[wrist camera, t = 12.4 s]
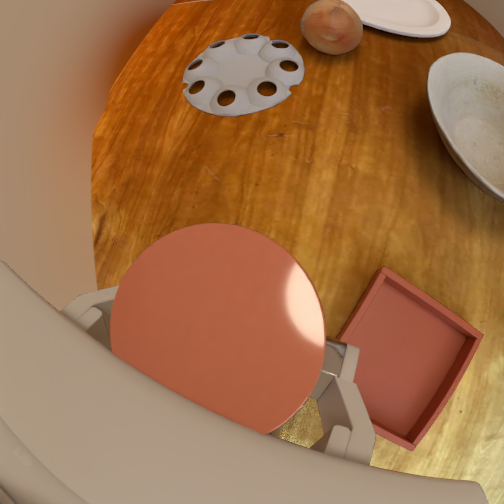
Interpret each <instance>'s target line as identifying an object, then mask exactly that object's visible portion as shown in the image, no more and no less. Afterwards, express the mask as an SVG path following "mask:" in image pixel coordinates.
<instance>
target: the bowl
mask: <svg viewBox="0 0 504 504" xmlns="http://www.w3.org/2000/svg"><path fill="white" fill-rule="evenodd" d="M426 89H427V97H428V103H429V107H430V110H431V114H432V117H433V120H434V122H435V125H436V127H437V130H438V132H439V135H440V137H441V139H442V142H443V144H444V146H445V148H446V149H447V151H448V152H449V154H450V156H451V157H452V158H453V159H454V161H455V163H456V164H457V165H458V166H459V167H460V168H461V169H462V170H463V172H464V173H465V174H466V175H467V177H468V178H469V179H470V180H471V181H472V182H473V183H474V184H475V185H476V186H477V187H478V188H480V189H481V190H482V191H483V192H485V193H487V194H489V195H490V196H492V197H493V198H495V199H497V200H499V201H501V202H503V203H504V66H502V65H500V64H498V63H496V62H494V61H492V60H490V59H488V58H485V57H482V56H479V55H475V54H471V53H464V52H460V53H452V54H448V55H445V56H443V57H441V58H439V59H437V60H436V61H435V62H434V63H433V64H432V65H431V66H430V69H429V72H428V76H427V88H426Z"/></svg>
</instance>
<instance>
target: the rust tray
mask: <svg viewBox="0 0 504 504" xmlns="http://www.w3.org/2000/svg"><path fill="white" fill-rule="evenodd" d="M483 335H484V334H482V333H481V332H480V331H478V330H477V329H476V328H474V327H473V326H472V325H470V324H469V323H467V322H466V321H465V320H463V319H462V318H460V317H459V316H458V315H456V314H455V313H453V312H452V311H451V310H449V309H448V308H446V307H445V306H444V305H442V304H441V303H439V302H438V301H436V300H435V299H434V298H432V297H431V296H429V295H428V294H426V293H425V292H423V291H422V290H420V289H419V288H417V287H416V286H414V285H413V284H411V283H410V282H408V281H407V280H405V279H404V278H402V277H401V276H399V275H398V274H396V273H395V272H393V271H392V270H390V269H389V268H387V267H386V266H383V267H381V268H380V269H378V270H377V272H376V273H375V275H374V277H373V279H372V280H371V282H370V284H369V286H368V287H367V289H366V291H365V293H364V294H363V296H362V298H361V299H360V301H359V303H358V304H357V306H356V308H355V309H354V311H353V312H352V314H351V316H350V317H349V319H348V321H347V322H346V324H345V325H344V327H343V328H342V330H341V332H340V333H339V335H338V336H337V338H336V339H337V340H340V341H342V342H345V343H348V344H351V345H353V346H356V347H359V349H360V352H359V357H358V362H357V366H356V371H355V376H354V380H353V383H356V384H357V387H358V389H359V392H360V394H361V397H362V399H363V402H364V404H365V407H366V409H367V412H368V415H369V417H370V420H371V422H372V425H373V428H374V430H375V433H376V434H378V435H380V436H382V437H384V438H386V439H388V440H390V441H392V442H394V443H396V444H398V445H400V446H402V447H404V448H406V449H408V450H410V451H413V450H414V449H415V448H416V446H417V445H418V444H419V442H420V441H421V440H422V438H423V437H424V436H425V434H426V433H427V432H428V430H429V429H430V427H431V426H432V424H433V423H434V422H435V420H436V419H437V417H438V416H439V414H440V413H441V411H442V410H443V408H444V407H445V405H446V403H447V402H448V400H449V399H450V397H451V395H452V394H453V392H454V390H455V389H456V387H457V385H458V384H459V382H460V380H461V378H462V377H463V375H464V373H465V371H466V369H467V368H468V366H469V364H470V362H471V360H472V358H473V356H474V354H475V352H476V350H477V348H478V346H479V344H480V342H481V340H482V338H483Z"/></svg>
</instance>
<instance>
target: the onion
mask: <svg viewBox="0 0 504 504" xmlns="http://www.w3.org/2000/svg"><path fill="white" fill-rule="evenodd" d="M300 29H301V31H302V34H303V35H304V37H305V39H306V40H307V41H308V43H309V44H310V45H311V46H312V47H314V48H315V49H317V50H318V51H321V52H323V53H326V54H329V55H340V54H344V53H347V52H349V51H351V50H353V49H354V48H356V47H357V46H358V45H359V43H360V42H361V39H362V35H363V24H362V21H361V19H360V17H359V15H358V14H357V13H356V12H355V10H354V9H353V8H352V7H351V6H350V5H348V4H347V3H345V2H344V1H342V0H319V1H317V2H315V3H313V4H312V5H311V6H309V7H308V8H307V10H306V11H305V13H304V15H303V17H302V18H301V21H300Z"/></svg>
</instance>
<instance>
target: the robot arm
mask: <svg viewBox="0 0 504 504" xmlns="http://www.w3.org/2000/svg"><path fill="white" fill-rule="evenodd" d="M118 288H119V285H118V286H114V287H110V288H106V289H102V290H98V291H94V292H90V293H86V294H82V295H79V296H78V297H77V298H75V299H74V300H73V301H72V302H71V303H70V304H68V305H67V306H66V307H65V308H64V309H63V310H61V311H60V312H59V311H58V310H57V309H56V308H55V307H53V306H52V305H51V304H50V303H49V302H47V301H46V300H45V299H44V298H43V297H42V296H40V295H39V294H38V293H37V292H36V291H34V289H32V288H31V287H30V286H29V285H28V284H27V283H26V282H25V281H23V279H22V278H20V277H19V276H18V275H17V274H16V273H15V272H14V271H13V270H12V269H11V268H10V267H9V266H8V265H7V264H6V263H5V262H3V261H0V504H489V503H488V500H487V498H486V496H485V493H484V491H483V489H482V487H481V485H480V484H479V483H478V482H475V481H467V480H454V479H444V478H435V477H428V476H421V475H414V474H408V473H403V472H397V471H392V470H387V469H382V468H378V467H373V466H369V465H370V461H371V457H372V452H373V448H374V444H375V439H376V433H375V430H374V428H373V425H372V422H371V420H370V417H369V415H368V412H367V409H366V407H365V404H364V402H363V399H362V397H361V394H360V392H359V389H358V387H357V384H356V383H353V380H354V376H355V371H356V366H357V362H358V357H359V352H360V349H359V347H356V346H353V345H351V344H348V343H345V342H342V341H340V340H337V339H334V338H331V337H329V336H326V351H325V357H324V363H323V367H322V370H321V373H320V376H319V379H318V381H317V383H316V385H315V387H314V389H313V391H312V393H311V395H310V396H309V397H310V398H313V399H315V400H317V404H318V409H319V413H320V418H321V422H322V427H323V432H324V436H323V437H321V438H320V439H319V440H318V441H317V442H316V443H315V444H314V445H312V446H311V447H310V449H309V448H306V447H303V446H300V445H298V444H295V443H292V442H289V441H286V440H284V439H281V438H278V437H276V436H273V435H271V434H266V435H264V434H261V433H259V432H257V431H254V430H252V429H249V428H247V427H245V426H242V425H240V424H238V423H236V422H233V421H231V420H229V419H227V418H225V417H223V416H220V415H218V414H216V413H214V412H212V411H210V410H208V409H206V408H204V407H202V406H200V405H198V404H196V403H194V402H192V401H191V400H189V399H187V398H185V397H183V396H181V395H179V394H178V393H176V392H174V391H172V390H170V389H169V388H167V387H165V386H163V385H162V384H160V383H158V382H157V381H155V380H153V379H152V378H150V377H148V376H147V375H145V374H143V373H142V372H140V371H138V370H137V369H135V368H134V367H132V366H131V365H129V364H127V363H126V362H124V361H123V360H121V359H120V358H118V357H117V356H115V355H114V354H113V353H112V350H111V343H110V318H111V312H112V306H113V302H114V299H115V295H116V293H117V290H118Z"/></svg>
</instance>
